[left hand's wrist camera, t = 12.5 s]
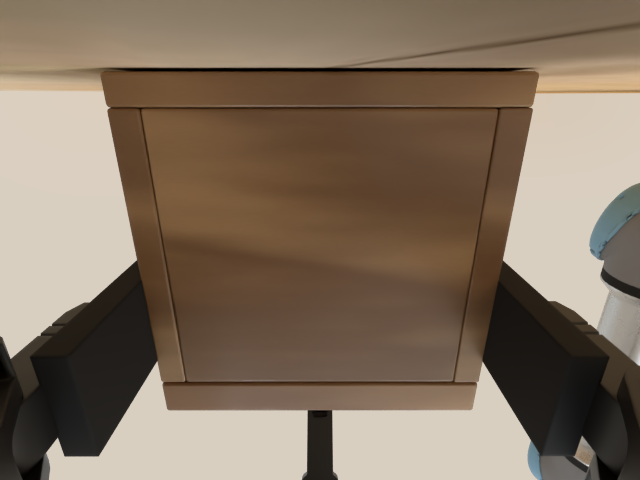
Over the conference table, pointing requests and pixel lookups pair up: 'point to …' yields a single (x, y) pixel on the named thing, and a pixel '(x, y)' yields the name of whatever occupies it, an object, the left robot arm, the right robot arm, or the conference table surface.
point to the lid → (320, 395)
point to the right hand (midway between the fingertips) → (319, 408)
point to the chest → (319, 217)
